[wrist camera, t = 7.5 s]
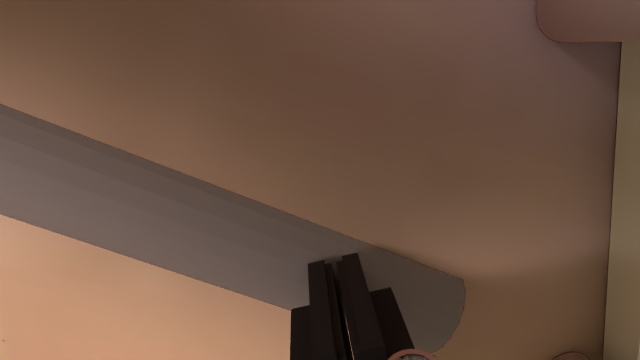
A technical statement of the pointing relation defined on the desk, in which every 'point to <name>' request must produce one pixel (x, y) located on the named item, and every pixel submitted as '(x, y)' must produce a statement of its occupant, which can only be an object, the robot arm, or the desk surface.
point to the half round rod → (199, 226)
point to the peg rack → (630, 158)
